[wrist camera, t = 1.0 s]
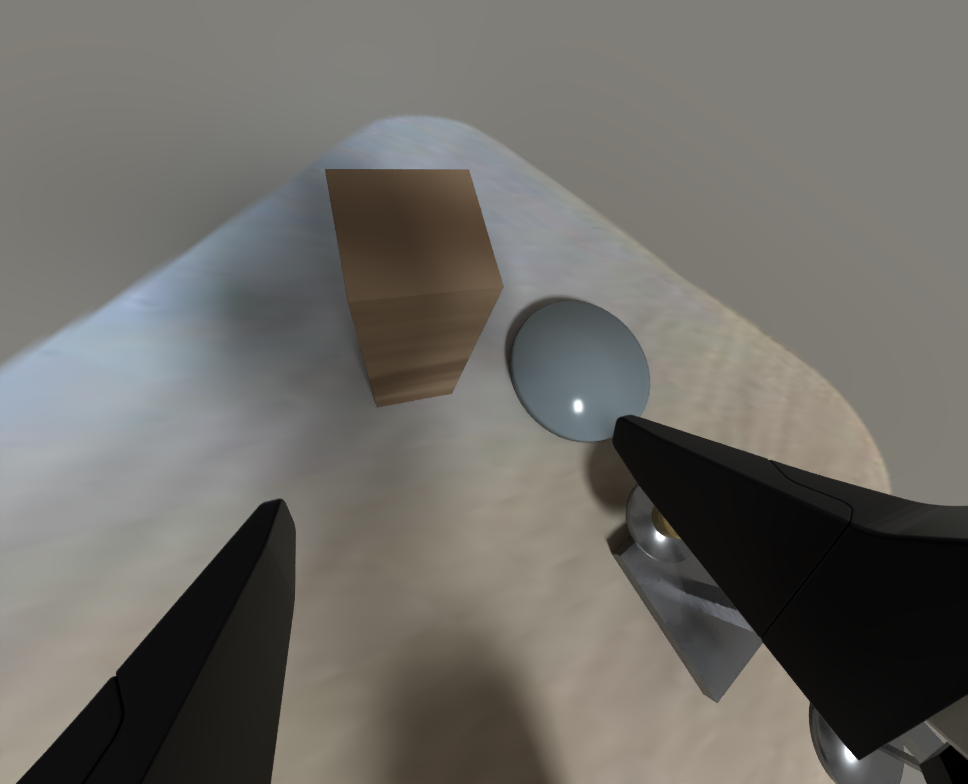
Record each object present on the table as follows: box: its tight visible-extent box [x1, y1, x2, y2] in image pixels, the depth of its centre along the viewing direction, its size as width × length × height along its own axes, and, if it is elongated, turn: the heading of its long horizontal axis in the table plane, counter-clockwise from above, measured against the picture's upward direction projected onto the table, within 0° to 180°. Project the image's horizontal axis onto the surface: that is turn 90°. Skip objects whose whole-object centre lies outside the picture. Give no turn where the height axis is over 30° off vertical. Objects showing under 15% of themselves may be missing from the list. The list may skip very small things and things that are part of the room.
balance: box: [612, 484, 944, 784], centre depth 19 cm, size 17×6×10 cm, turn 33°
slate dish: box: [510, 301, 650, 443], centre depth 26 cm, size 11×11×1 cm
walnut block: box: [325, 169, 503, 407], centre depth 18 cm, size 5×5×13 cm
